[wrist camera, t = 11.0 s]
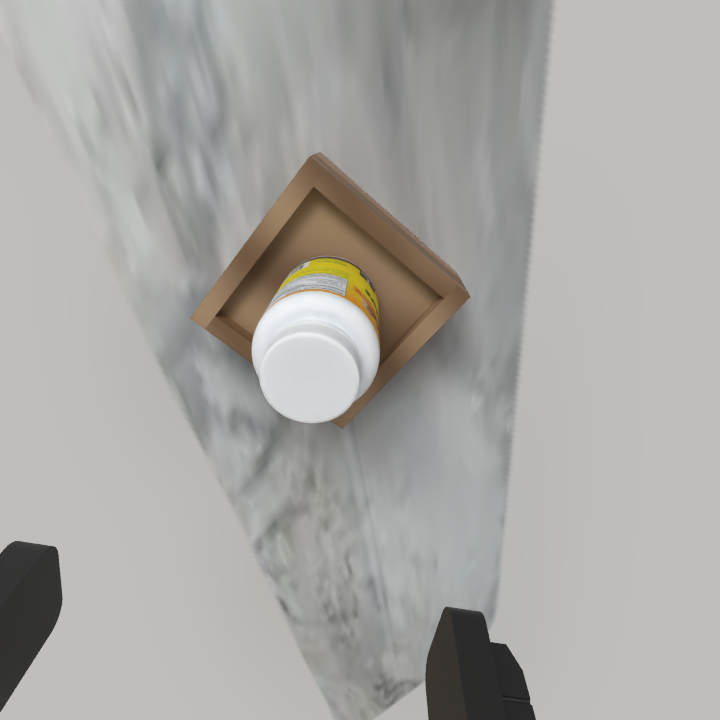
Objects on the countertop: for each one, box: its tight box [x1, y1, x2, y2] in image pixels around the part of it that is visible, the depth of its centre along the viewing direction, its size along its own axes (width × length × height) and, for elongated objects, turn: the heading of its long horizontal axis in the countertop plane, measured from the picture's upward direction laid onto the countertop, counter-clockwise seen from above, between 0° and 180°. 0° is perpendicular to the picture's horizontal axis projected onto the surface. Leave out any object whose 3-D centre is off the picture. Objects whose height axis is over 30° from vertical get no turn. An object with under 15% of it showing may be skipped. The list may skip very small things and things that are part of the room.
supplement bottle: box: [252, 256, 380, 423], centre depth 25 cm, size 6×6×10 cm
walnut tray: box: [190, 152, 470, 428], centre depth 31 cm, size 11×11×5 cm
